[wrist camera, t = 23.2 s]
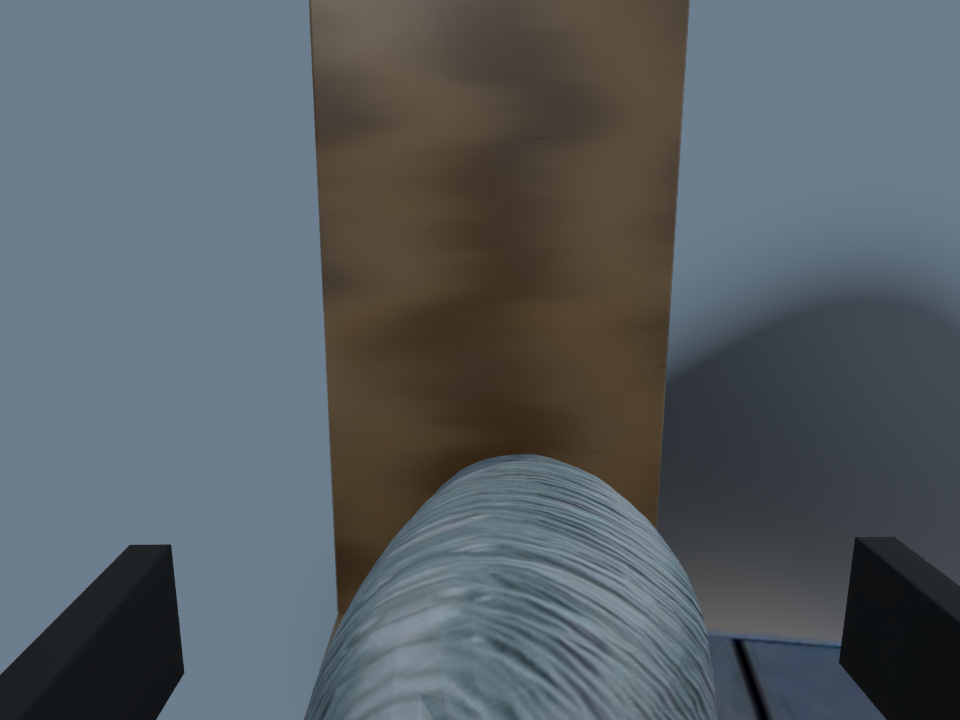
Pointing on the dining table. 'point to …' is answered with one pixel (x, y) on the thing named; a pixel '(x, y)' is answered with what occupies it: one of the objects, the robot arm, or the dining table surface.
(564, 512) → the grey streaked ellipsoid
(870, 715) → the dining table surface
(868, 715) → the dining table surface
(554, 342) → the wooden chair
